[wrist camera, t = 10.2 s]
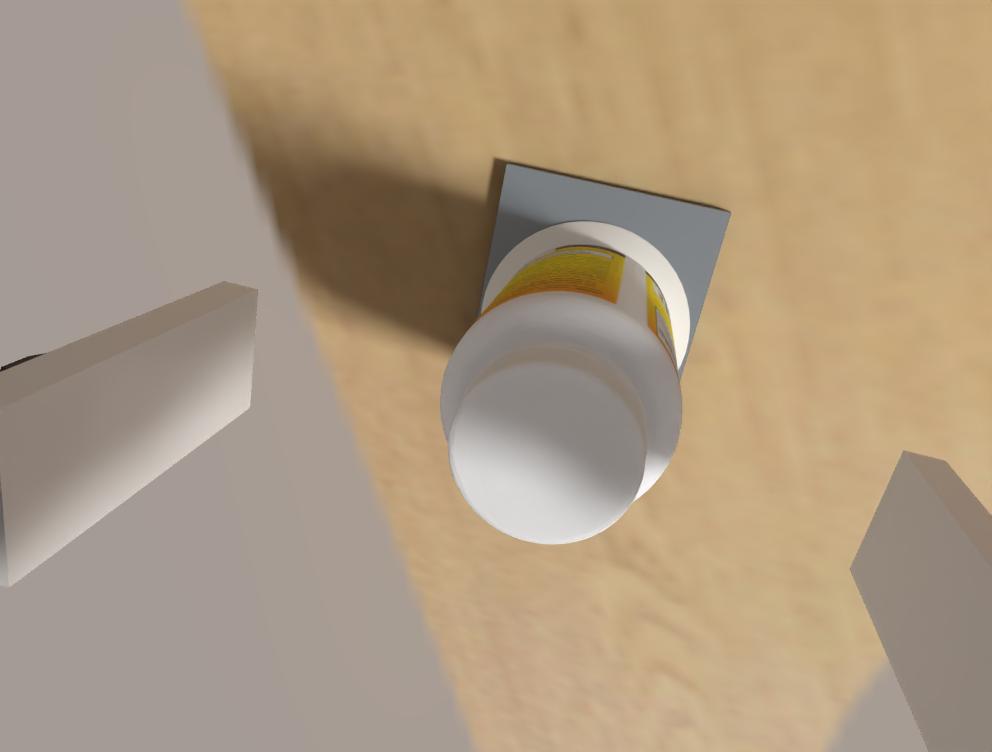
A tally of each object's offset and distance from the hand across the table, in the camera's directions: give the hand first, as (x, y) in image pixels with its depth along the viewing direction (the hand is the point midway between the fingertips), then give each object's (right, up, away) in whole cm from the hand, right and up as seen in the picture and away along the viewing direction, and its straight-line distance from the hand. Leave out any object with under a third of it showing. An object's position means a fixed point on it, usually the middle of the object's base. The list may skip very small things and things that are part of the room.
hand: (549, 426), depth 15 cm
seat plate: (+2, +3, +10) cm, 10 cm away
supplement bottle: (+2, +3, +9) cm, 10 cm away
